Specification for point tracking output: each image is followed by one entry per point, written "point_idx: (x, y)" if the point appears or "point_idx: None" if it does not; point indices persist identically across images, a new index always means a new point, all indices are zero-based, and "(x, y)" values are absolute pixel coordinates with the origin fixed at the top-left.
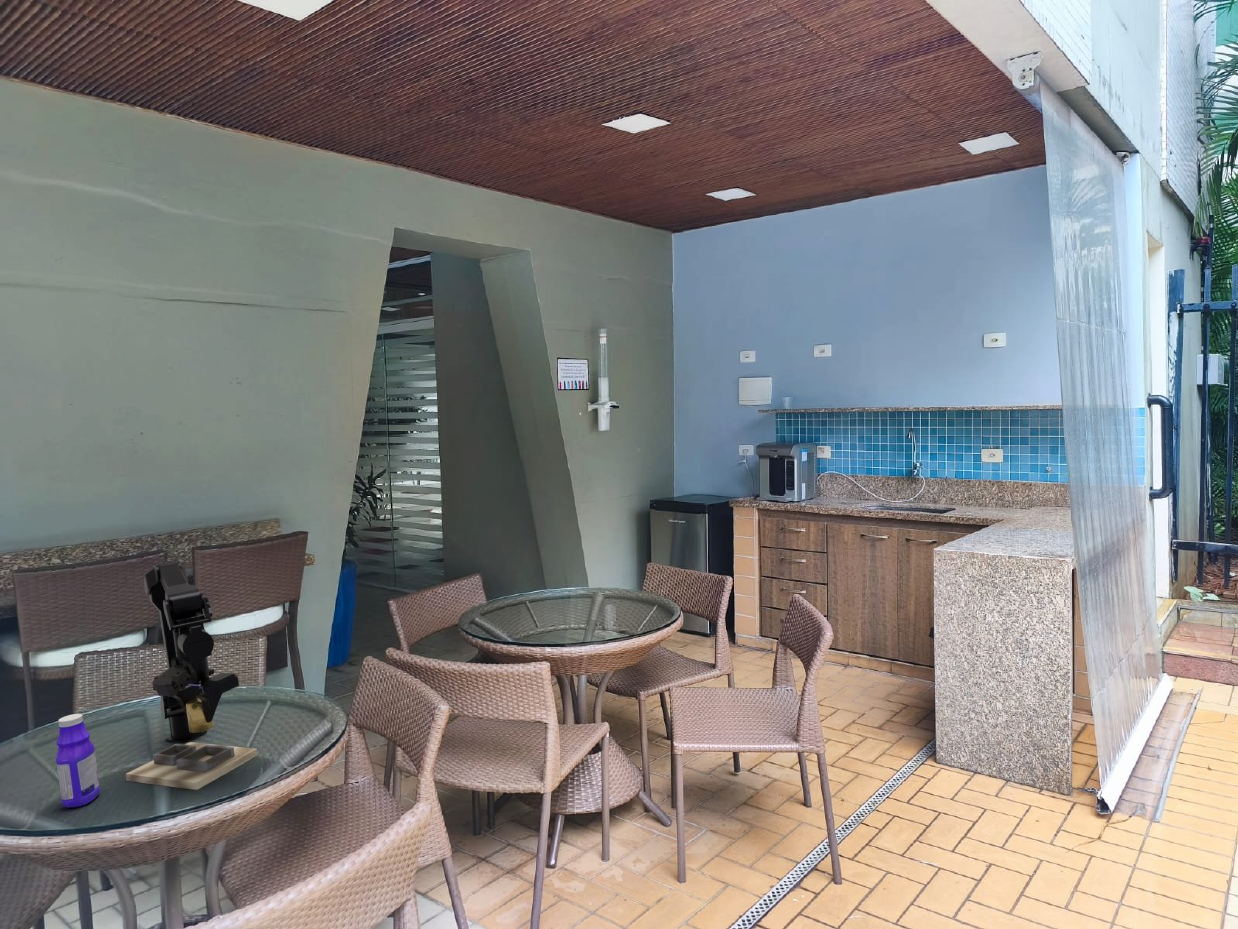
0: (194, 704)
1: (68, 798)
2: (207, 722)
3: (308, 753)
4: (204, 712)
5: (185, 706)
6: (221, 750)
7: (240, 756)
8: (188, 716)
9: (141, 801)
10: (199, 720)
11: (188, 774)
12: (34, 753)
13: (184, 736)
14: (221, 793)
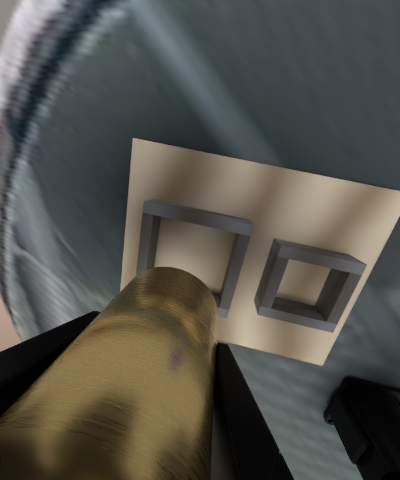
0: (4, 442)
1: None
2: (95, 311)
3: (30, 306)
4: (39, 353)
5: (232, 456)
6: None
7: (127, 281)
8: (169, 330)
9: (257, 66)
10: (108, 307)
11: (193, 189)
12: None
13: (361, 398)
14: (65, 127)
